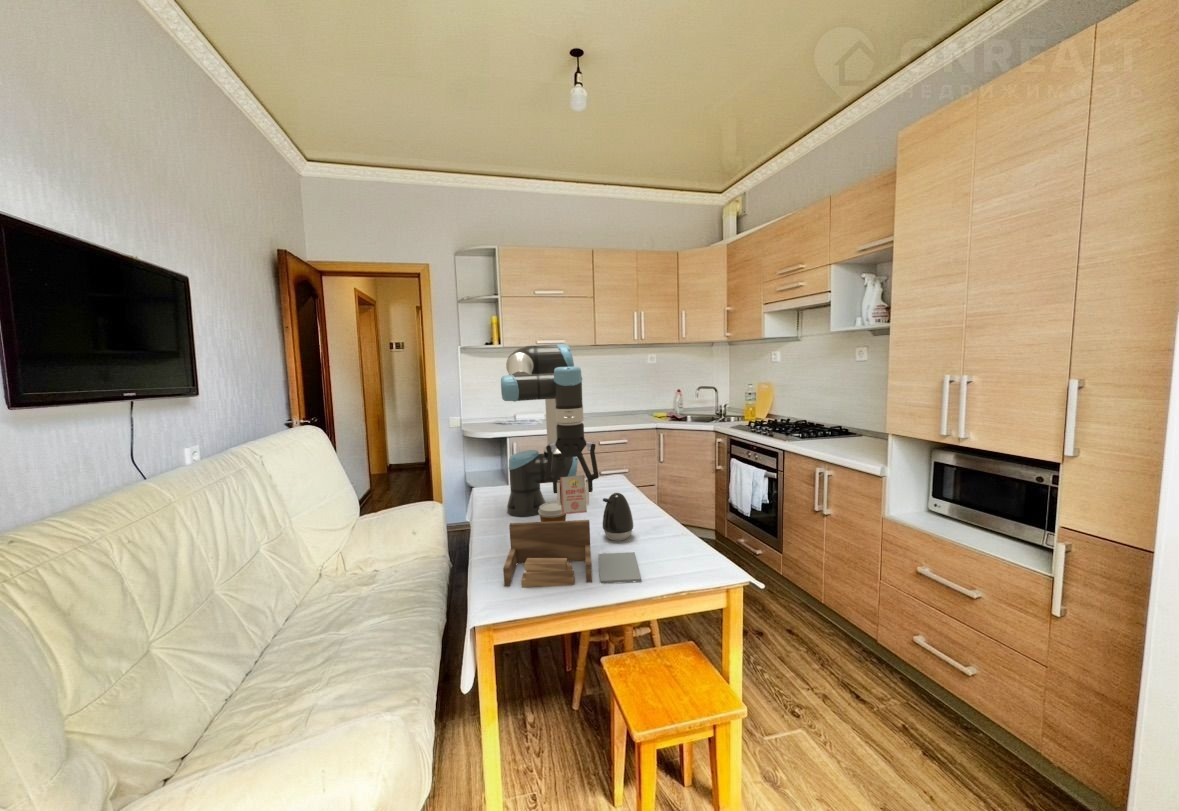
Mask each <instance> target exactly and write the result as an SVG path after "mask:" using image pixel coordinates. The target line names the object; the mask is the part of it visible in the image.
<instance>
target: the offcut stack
mask: <svg viewBox="0 0 1179 811" xmlns="http://www.w3.org/2000/svg"><path fill="white" fill-rule="evenodd" d="M524 571H525V572H523V573H522V576H521V580H520V582H521V588H531V587H532V588H535V587H536V588H537V587H556V586H559V587H560V586H574V585H575V570H574V568H573V563H568V562H567V558H527V560H526V562H525V564H524Z"/></svg>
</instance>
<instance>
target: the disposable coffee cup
mask: <svg viewBox="0 0 1179 811" xmlns="http://www.w3.org/2000/svg"><path fill="white" fill-rule="evenodd" d="M538 513H539V514H538V515H539V517H540V518H539V519H540V522H549V521H567V520H566V519H567V514H562V510H561V506H558V501H550V502H545V504H542V505H541V506H540V507H539V510H538Z"/></svg>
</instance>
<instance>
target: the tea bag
mask: <svg viewBox="0 0 1179 811" xmlns="http://www.w3.org/2000/svg"><path fill="white" fill-rule="evenodd" d="M585 478H586V476H585V474H583V475H576V476H569V477H560V488H561V510H562V514H566V515H569V514H570V515H572V514H581V513H583V514H584V513H587V509H588V508H587V505H586V485H585V480H586V479H585Z"/></svg>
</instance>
